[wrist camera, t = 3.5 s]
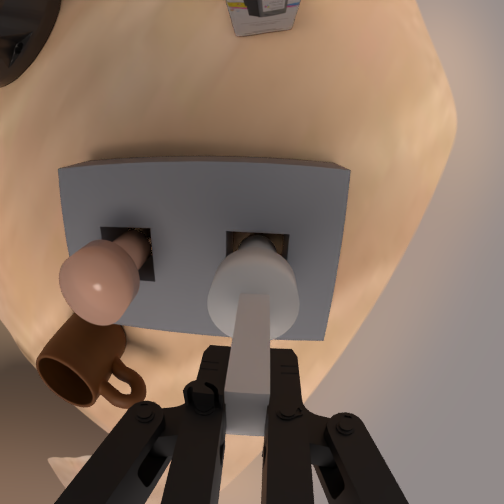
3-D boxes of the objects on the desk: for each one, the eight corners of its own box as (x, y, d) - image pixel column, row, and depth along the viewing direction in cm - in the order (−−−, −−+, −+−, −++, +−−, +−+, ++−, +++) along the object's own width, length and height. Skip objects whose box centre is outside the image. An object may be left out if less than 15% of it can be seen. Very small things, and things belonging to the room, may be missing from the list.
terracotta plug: (105, 217, 22) (52, 252, 15) (160, 218, 22) (118, 256, 15) (112, 272, 24) (69, 319, 17) (164, 276, 24) (131, 330, 17)
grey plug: (224, 220, 22) (205, 262, 15) (292, 224, 22) (304, 267, 15) (224, 280, 24) (209, 339, 17) (286, 284, 24) (293, 344, 17)
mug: (167, 330, 31) (139, 393, 22) (159, 374, 33) (137, 433, 25) (73, 294, 30) (28, 342, 21) (76, 341, 33) (41, 389, 24)
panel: (89, 160, 24) (58, 168, 19) (334, 162, 23) (350, 170, 19) (105, 293, 29) (84, 318, 25) (315, 308, 29) (323, 340, 24)
